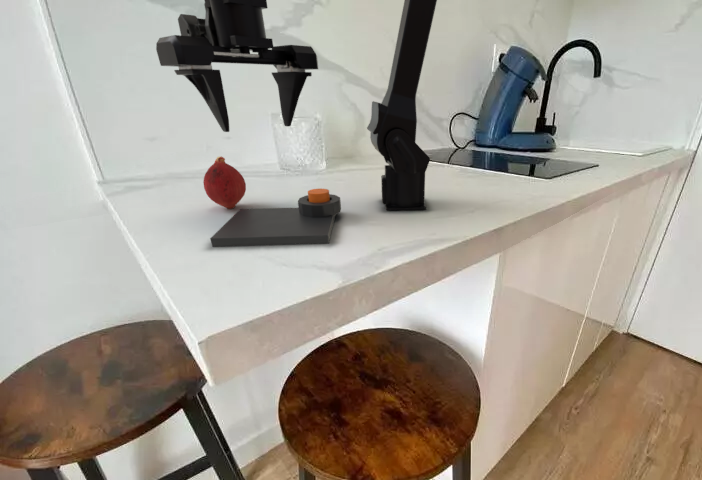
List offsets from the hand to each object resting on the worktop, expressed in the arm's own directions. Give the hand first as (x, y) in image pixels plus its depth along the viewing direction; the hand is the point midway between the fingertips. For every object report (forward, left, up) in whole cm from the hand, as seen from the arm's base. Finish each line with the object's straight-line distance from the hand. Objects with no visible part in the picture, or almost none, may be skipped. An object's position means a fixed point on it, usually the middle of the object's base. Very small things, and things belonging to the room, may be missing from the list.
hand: (258, 128), depth 51 cm
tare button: (-8, +3, -10) cm, 13 cm away
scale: (-3, +7, -12) cm, 14 cm away
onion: (+7, -3, -12) cm, 15 cm away
